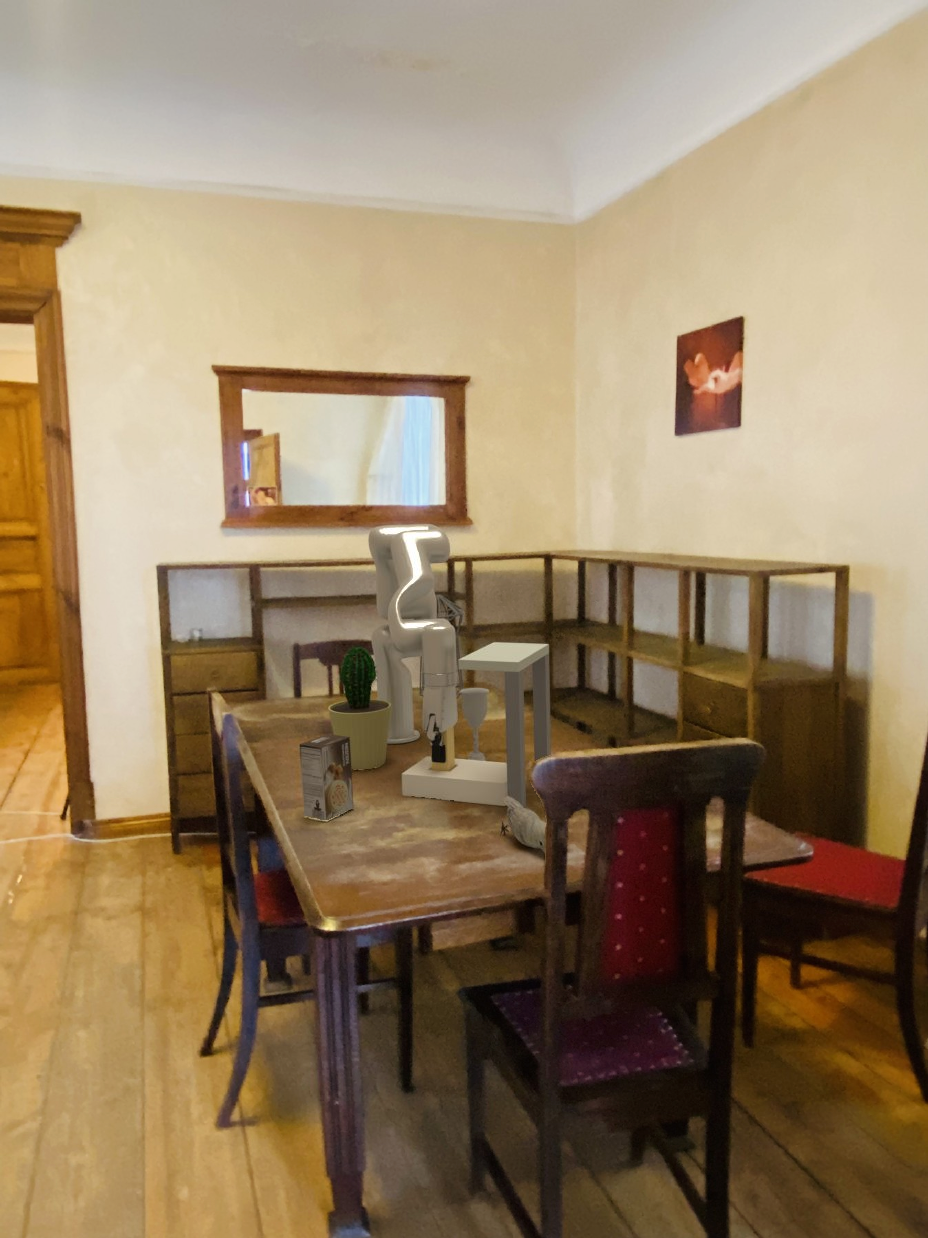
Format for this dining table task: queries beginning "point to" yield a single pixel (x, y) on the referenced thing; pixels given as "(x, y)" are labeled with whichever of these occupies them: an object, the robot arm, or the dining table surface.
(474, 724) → the chalice
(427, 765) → the socket block
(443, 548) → the robot arm
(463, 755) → the dining table surface
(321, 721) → the dining table surface
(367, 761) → the potted cactus
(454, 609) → the geometric lantern
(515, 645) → the c-shaped stand
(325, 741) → the coffee box
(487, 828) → the dining table surface
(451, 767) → the peg
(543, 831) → the decorative bird
